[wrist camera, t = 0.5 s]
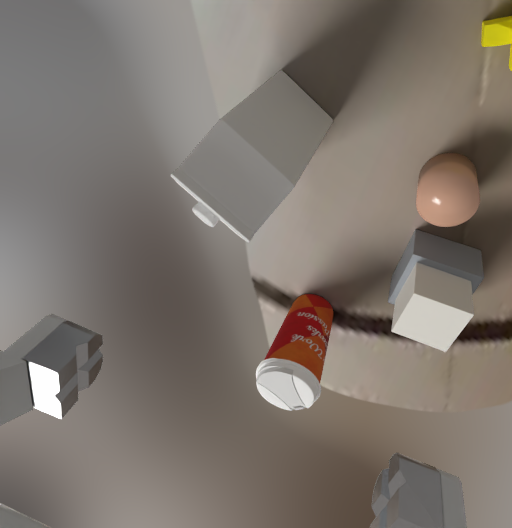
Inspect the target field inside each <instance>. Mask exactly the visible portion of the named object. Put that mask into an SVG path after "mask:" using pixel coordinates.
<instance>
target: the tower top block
mask: <svg viewBox="0 0 512 528" xmlns="http://www.w3.org/2000/svg"><path fill="white" fill-rule="evenodd" d="M473 315H474V310H473V297H472V285H471V281H469V280H466V279H464V278H461V277H458V276H455V275H452V274H449V273H446V272H443V271H441V270H438V269H435V268H432V267H429V266H426V265H423V264H421V263H418V262H416V264H415V266H414V268H413V269H412V271H411V273H410V275H409V276H408V278H407V280H406V282H405V284H404V285H403V287H402V289H401V291H400V292H399V294H398V296H397V298H396V300H395V307H394V315H393V322H392V330H391V331H392V332H394V333H397V334H399V335H402V336H405V337H407V338H410V339H413V340H415V341H418V342H421V343H423V344H426V345H429V346H431V347H434V348H437V349H439V350H442V351H445V352H446V351H447V349H448V348H449V347H450V346H451V344H452V343H453V342H454V340H455V339H456V338H457V336H458V335H459V334H460V332H461V331H462V330H463V328H464V327H465V326H466V325H467V323H468V322H469V321H470V319H471V318H472V317H473Z"/></svg>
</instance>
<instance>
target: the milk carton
mask: <svg viewBox="0 0 512 528" xmlns="http://www.w3.org/2000/svg"><path fill="white" fill-rule="evenodd" d="M332 123H333V119H332V118H331V117H330V116H329V115H328V114H327V113H326V112H325V111H324V110H323V109H322V108H321V107H320V106H319V105H318V104H317V103H316V102H315V101H314V100H313V99H312V98H310V97H309V96H308V95H307V94H306V93H305V92H304V91H303V90H302V89H301V88H300V87H299V86H298V85H297V84H296V83H295V82H294V81H293V80H292V79H291V78H290V77H289V76H288V75H287V74H286V73H284V72H283V71H282V70H280V71H279V72H277V73H276V74H275V75H274V76H273V77H271V78H270V79H269V80H268V81H266V82H265V83H264V84H263V85H262V86H260V87H259V88H258V89H257V90H255V91H254V92H253V93H252V94H250V95H249V96H248V97H247V98H246V99H244V100H243V101H242V102H241V103H239V104H238V105H237V106H236V107H234V108H233V109H232V110H231V111H230V112H228V113H227V114H226V115H225V116H223V117H222V118H221V119H219V121H218V122H217V123H216V124H215V125H214V126H213V128H212V129H211V130H210V131H209V132H208V133H207V135H206V136H205V137H204V138H203V139H202V141H201V142H200V143H199V144H198V145H197V147H196V148H195V149H194V150H193V151H192V153H190V155H189V156H188V157H187V158H186V159H185V161H184V162H183V163H182V164H181V165H180V166H179V168H177V169H176V170H175V171H174V172H173V173H172V174H171V177H172V178H173V179H175V180H176V182H177V183H178V184H179V185H180V186H181V187H182V188H184V189H185V190H186V191H187V192H188V193H189V194H190V195H192V196H193V197H194V198H195V199H196V200H197V201H199V202H198V203H197V204H196V205H195V206H194V207H193V212H194V213H195V215H196V216H198V218H200V219H201V220H202V221H203V222H204V223H206V224H207V225H209V226H211V227H214V226H215V225H216V224H217V222H218V221H219V220H221V221H222V222H223V223H224V224H226V225H227V226H228V227H229V228H230V229H231V230H232V231H234V232H235V233H236V234H237V235H238V236H239V237H241V238H242V239H244V240H245V241H246V242H249V241H250V240H251V239H252V237H253V235H254V234H255V233H256V232H257V230H258V229H259V228H260V227H261V226H262V224H263V223H264V222H265V221H266V220H267V219H268V217H269V216H270V215H271V214H272V213H273V212H274V210H275V209H276V208H277V207H278V206H279V205H280V203H281V202H282V201H283V200H284V199H285V198H286V196H287V195H288V194H289V193H290V192H291V190H292V189H293V188H294V187H295V185H296V183H297V181H298V180H299V178H300V176H301V175H302V173H303V171H304V170H305V168H306V166H307V165H308V163H309V161H310V160H311V158H312V156H313V155H314V153H315V151H316V150H317V148H318V146H319V145H320V143H321V141H322V140H323V138H324V136H325V135H326V133H327V131H328V130H329V128H330V126H331V125H332Z"/></svg>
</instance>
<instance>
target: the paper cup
mask: <svg viewBox="0 0 512 528" xmlns="http://www.w3.org/2000/svg"><path fill="white" fill-rule="evenodd" d="M332 320H333V308H332V306H331V305H330V303H329V302H328V301H327V300H326V299H324V298H323V297H321V296H318V295H314V294H304V295H301V296H299V297H298V298H297V299H296V300H295V302H294V303H293V305H292V307H291V309H290V311H289V312H288V314H287V316H286V318H285V320H284V322H283V324H282V326H281V328H280V330H279V332H278V334H277V336H276V338H275V340H274V342H273V344H272V346H271V348H270V350H269V352H268V354H267V356H266V358H265V360H264V361H262V362H261V363H260V364H259V366H258V367H257V370H256V378H257V380H256V384H257V388H258V391H259V392H260V394H261V395H262V396H263V397H264V398H265V399H266V400H267V401H268V402H270V403H271V404H273V405H275V406H277V407H279V408H282V409H285V410H290V411H292V410H293V409H295V410H300V409H304V408H305V407H307V408H309V407H310V406H311V405H312V404H313V403H314V401H316V400H317V399H318V398H319V396H320V393H321V386H320V380H321V375H322V370H323V365H324V361H325V356H326V351H327V346H328V341H329V336H330V331H331V325H332Z"/></svg>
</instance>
